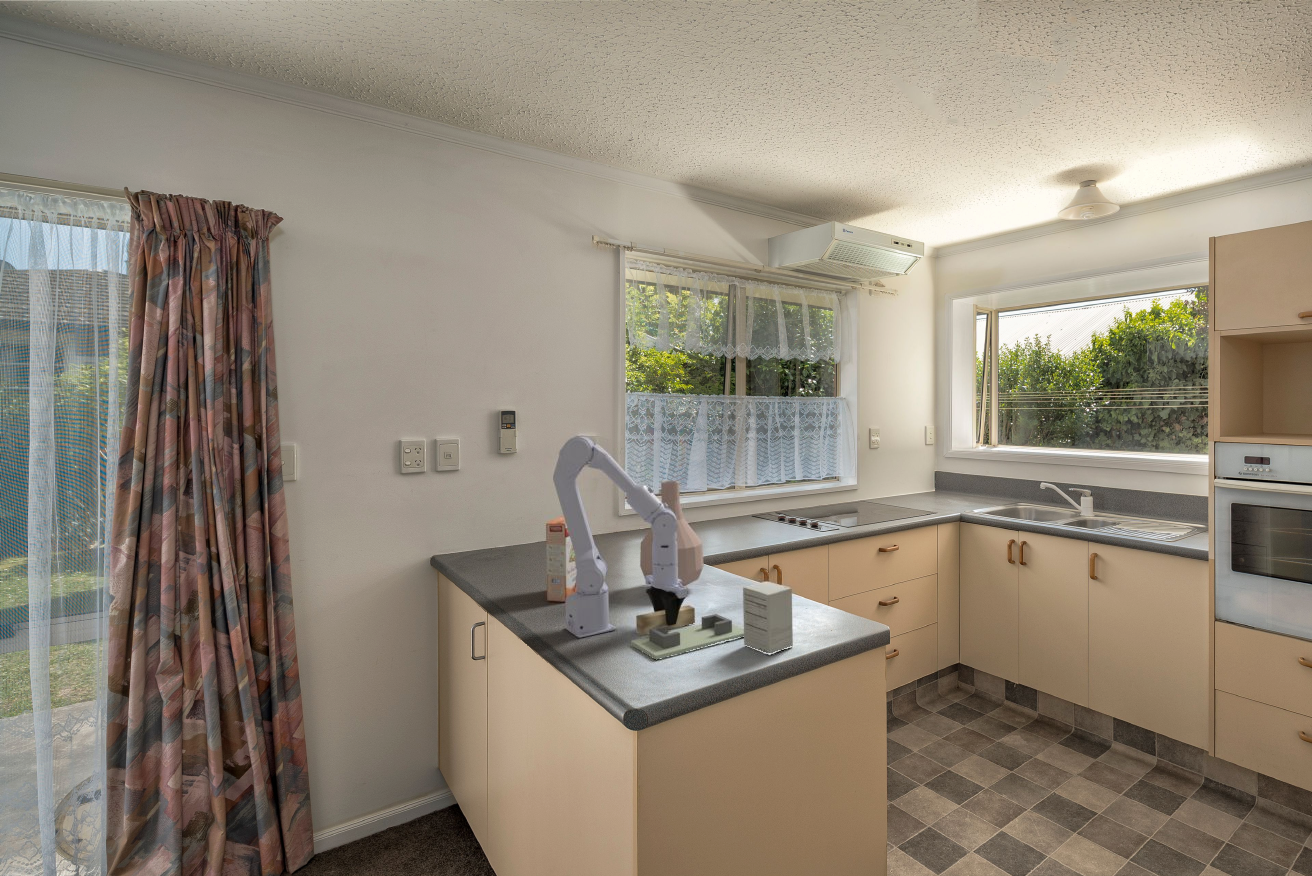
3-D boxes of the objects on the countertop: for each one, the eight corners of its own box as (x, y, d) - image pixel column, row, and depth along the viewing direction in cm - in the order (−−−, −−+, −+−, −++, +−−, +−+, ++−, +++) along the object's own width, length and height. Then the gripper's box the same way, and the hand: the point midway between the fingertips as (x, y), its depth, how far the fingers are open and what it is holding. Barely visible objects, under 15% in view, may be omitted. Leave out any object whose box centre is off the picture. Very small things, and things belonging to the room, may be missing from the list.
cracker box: (568, 602, 165) (566, 523, 164) (546, 602, 166) (544, 522, 165) (584, 588, 179) (582, 514, 178) (564, 587, 180) (562, 514, 179)
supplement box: (767, 638, 136) (766, 580, 136) (793, 648, 131) (793, 587, 130) (742, 646, 132) (741, 586, 132) (768, 656, 126) (768, 594, 126)
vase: (649, 602, 164) (647, 487, 163) (633, 584, 181) (631, 480, 180) (713, 595, 169) (711, 483, 168) (691, 579, 186) (690, 477, 185)
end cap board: (656, 660, 125) (655, 643, 125) (631, 645, 134) (630, 629, 134) (749, 636, 138) (749, 620, 138) (721, 623, 146) (721, 608, 146)
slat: (642, 636, 140) (641, 618, 140) (636, 633, 142) (636, 615, 142) (694, 624, 147) (694, 607, 147) (689, 621, 149) (688, 605, 149)
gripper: (698, 566, 140) (699, 627, 140) (662, 554, 152) (663, 610, 152) (671, 570, 136) (672, 633, 136) (637, 558, 148) (638, 615, 149)
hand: (666, 621), depth 144 cm, fingers open, 4 cm apart
